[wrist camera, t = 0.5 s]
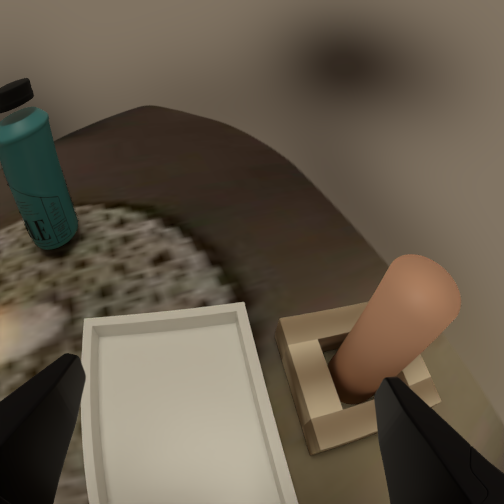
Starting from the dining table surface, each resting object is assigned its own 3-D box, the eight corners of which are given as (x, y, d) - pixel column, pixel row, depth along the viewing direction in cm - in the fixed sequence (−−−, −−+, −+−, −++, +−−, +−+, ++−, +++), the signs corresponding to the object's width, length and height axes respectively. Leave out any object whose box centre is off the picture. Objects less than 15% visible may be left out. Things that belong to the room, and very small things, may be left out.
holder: (423, 412, 23) (441, 401, 20) (310, 455, 20) (320, 450, 18) (379, 314, 30) (391, 296, 28) (274, 335, 28) (279, 318, 25)
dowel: (385, 394, 24) (473, 313, 15) (334, 411, 23) (413, 335, 14) (365, 347, 27) (434, 250, 18) (317, 359, 26) (373, 259, 17)
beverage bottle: (85, 218, 36) (50, 65, 22) (80, 256, 32) (29, 83, 17) (42, 227, 34) (-3, 83, 20) (32, 265, 30) (-31, 106, 16)
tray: (300, 534, 16) (308, 538, 14) (111, 553, 13) (100, 557, 11) (242, 317, 29) (244, 301, 27) (93, 333, 26) (84, 318, 24)
